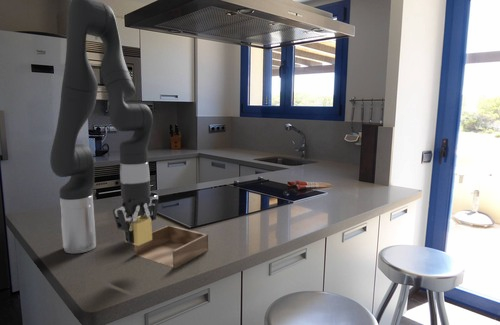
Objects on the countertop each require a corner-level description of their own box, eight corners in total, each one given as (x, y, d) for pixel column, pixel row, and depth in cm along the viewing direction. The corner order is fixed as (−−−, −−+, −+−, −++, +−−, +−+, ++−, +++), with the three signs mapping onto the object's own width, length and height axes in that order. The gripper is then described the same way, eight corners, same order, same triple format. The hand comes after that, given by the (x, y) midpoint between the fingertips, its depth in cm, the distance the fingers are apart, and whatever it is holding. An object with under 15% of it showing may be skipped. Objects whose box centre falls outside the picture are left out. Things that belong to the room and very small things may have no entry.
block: (125, 242, 96) (124, 221, 95) (139, 236, 100) (138, 216, 99) (138, 245, 93) (136, 224, 92) (152, 239, 97) (151, 219, 96)
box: (134, 256, 107) (133, 239, 106) (169, 240, 119) (169, 224, 118) (175, 270, 98) (174, 251, 97) (208, 251, 111) (208, 234, 110)
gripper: (146, 173, 102) (148, 229, 105) (102, 182, 90) (107, 245, 92) (165, 176, 98) (167, 234, 101) (122, 186, 86) (126, 252, 89)
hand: (138, 239), depth 97 cm, fingers closed on block, 5 cm apart
